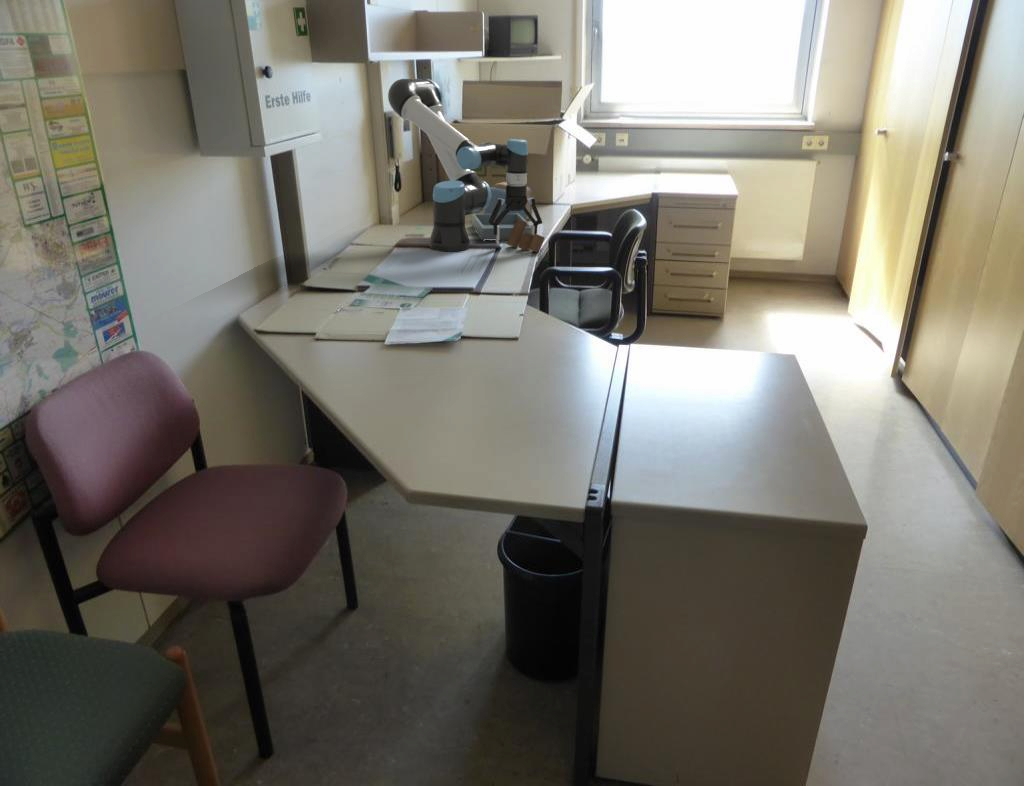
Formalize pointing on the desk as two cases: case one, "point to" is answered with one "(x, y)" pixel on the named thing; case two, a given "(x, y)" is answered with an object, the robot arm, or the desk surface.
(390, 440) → the desk surface
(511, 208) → the robot arm
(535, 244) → the wooden block set
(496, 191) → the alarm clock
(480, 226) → the crate
